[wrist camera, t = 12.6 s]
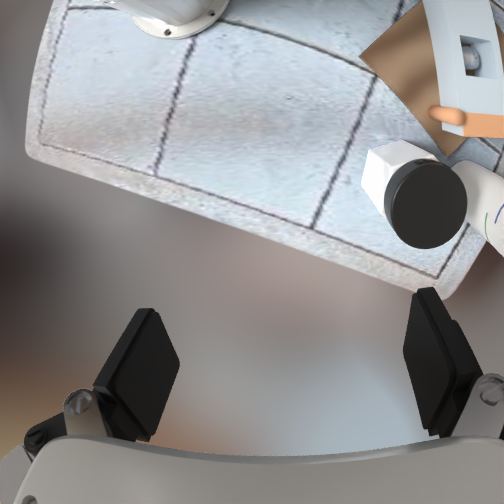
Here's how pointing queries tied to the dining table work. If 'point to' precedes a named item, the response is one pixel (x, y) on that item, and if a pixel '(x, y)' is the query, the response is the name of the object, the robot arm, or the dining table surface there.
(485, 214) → the cylindrical container
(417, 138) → the dining table surface
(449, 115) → the pin
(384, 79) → the board
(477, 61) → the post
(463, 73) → the slotted bar
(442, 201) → the jar
